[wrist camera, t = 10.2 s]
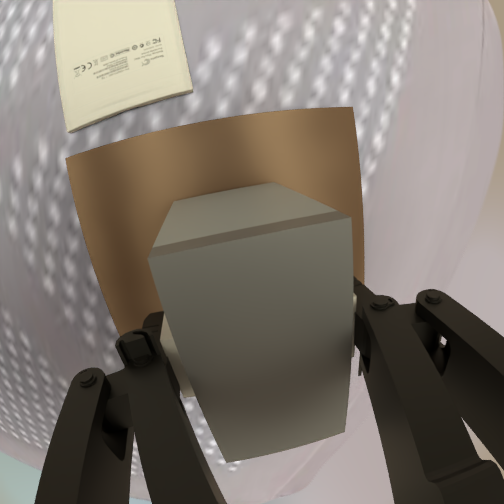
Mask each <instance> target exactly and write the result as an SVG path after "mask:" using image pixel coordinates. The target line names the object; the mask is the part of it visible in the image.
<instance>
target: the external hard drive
mask: <svg viewBox="0 0 504 504" xmlns="http://www.w3.org/2000/svg"><path fill="white" fill-rule="evenodd" d="M53 28H54V44H55V56H56V65H57V74H58V81H59V88H60V95H61V101H62V107H63V113H64V119H65V124H66V129H67V132H68V133H73V132H75V131H77V130H79V129H82V128H84V127H87V126H89V125H92V124H94V123H97V122H99V121H102V120H104V119H107V118H110V117H112V116H115V115H118V114H119V113H121V112H123V111H126V110H129V109H133V108H136V107H141V106H145V105H148V104H151V103H154V102H158V101H161V100H165V99H168V98H172V97H176V96H179V95H183V94H187V93H191V92H193V86H192V81H191V77H190V73H189V68H188V63H187V59H186V54H185V50H184V45H183V40H182V35H181V31H180V26H179V21H178V16H177V11H176V7H175V2H174V0H53Z"/></svg>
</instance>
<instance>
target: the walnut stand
mask: <svg viewBox="0 0 504 504" xmlns="http://www.w3.org/2000/svg"><path fill="white" fill-rule="evenodd" d="M65 159H66V165H67V170H68V175H69V180H70V184H71V189H72V193H73V197H74V202H75V206H76V210H77V214H78V217H79V221H80V225H81V229H82V232H83V236H84V239H85V242H86V246H87V249H88V252H89V255H90V258H91V262H92V265H93V268H94V271H95V273H96V276H97V279H98V282H99V285H100V288H101V290H102V293H103V296H104V298H105V301H106V304H107V306H108V309H109V311H110V314H111V316H112V319H113V321H114V323H115V326H116V328H117V331H118V333H119V335H120V337H121V336H122V335H123V334H125V333H127V332H129V331H131V330H135V329H142V326H143V322H144V320H145V318H146V317H147V316H148V315H149V314H150V313H154V312H160V311H163V307H162V304H161V301H160V298H159V295H158V292H157V289H156V286H155V282H154V279H153V276H152V272H151V269H150V265H149V262H148V256H149V254H150V252H151V249H152V247H153V245H154V243H155V240H156V238H157V236H158V234H159V231H160V229H161V227H162V225H163V223H164V221H165V219H166V216H167V214H168V212H169V210H170V208H171V206H172V204H173V202H174V201H178V200H182V199H187V198H192V197H196V196H201V195H206V194H211V193H216V192H221V191H226V190H232V189H237V188H243V187H248V186H254V185H260V184H265V183H271V182H275V183H277V184H280V185H282V186H284V187H287V188H289V189H291V190H294V191H296V192H298V193H300V194H303V195H305V196H307V197H309V198H311V199H314V200H316V201H318V202H320V203H322V204H324V205H327V206H329V207H331V208H333V209H335V210H337V211H339V212H341V213H343V214H345V215H348V216H350V217H351V221H352V242H353V276H354V277H356V278H357V279H358V280H359V281H360V282H361V283H362V284H364V223H363V202H362V187H361V174H360V163H359V153H358V143H357V135H356V127H355V119H354V112H353V107H331V108H311V109H297V110H285V111H274V112H265V113H257V114H249V115H241V116H234V117H228V118H221V119H215V120H209V121H204V122H198V123H193V124H188V125H183V126H178V127H174V128H169V129H165V130H160V131H156V132H152V133H148V134H144V135H140V136H136V137H132V138H128V139H125V140H121V141H118V142H114V143H111V144H107V145H104V146H101V147H98V148H94V149H91V150H88V151H85V152H82V153H79V154H76V155H73V156H70V157H68V158H65Z"/></svg>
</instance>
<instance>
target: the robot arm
mask: <svg viewBox="0 0 504 504" xmlns="http://www.w3.org/2000/svg"><path fill="white" fill-rule="evenodd" d="M442 336H443V337H444V338H445V339H446V340H447V341H446V345H443V344H442V343H441V342H440V341H441V337H442ZM355 346H356V347H357V348H358V349H359V351H360V359H359V370H358V376H361V372H363V375H364V378H365V382H366V385H367V389H368V393H369V396H370V400H371V403H372V407H373V411H374V414H375V419H376V422H377V426H378V430H379V434H380V438H381V442H382V447H383V451H384V455H385V459H386V464H387V468H388V473H389V478H390V483H391V488H392V493H393V498H394V503H395V504H504V479H503V476H502V474H501V471H500V469H499V468H498V466H497V464H496V463H494V462H493V461H491V460H482V459H480V458H479V456H478V454H477V452H476V450H475V447H474V445H473V443H472V440H471V438H470V436H469V434H468V431H467V429H466V427H465V425H464V422H463V420H464V421H465V422H466V423H467V424H468V426H469V427H470V428H471V429H472V431H473V432H474V433H475V434H476V436H477V437H478V438H479V439H480V440H481V442H482V443H483V444H484V445H485V447H486V448H487V449H488V451H489V452H490V453H491V454H492V456H493V457H494V458H495V459H496V461H497V462H498V463H499V465H500V466H501V467H502V469H503V470H504V337H503V336H501V335H500V334H499V333H498V332H496V331H495V330H494V329H492V328H491V327H490V326H489V325H487V324H486V323H485V322H483V321H482V320H481V319H480V318H478V317H477V316H476V315H474V314H473V313H471V312H470V311H469V310H467V309H466V308H465V307H463V306H462V305H461V304H459V303H458V302H456V301H455V300H454V299H452V298H451V297H449V296H448V295H447V294H445V293H443V292H441V291H439V290H435V289H428V290H423V291H421V292H419V293H418V295H417V297H416V303H411V304H403V305H399V304H398V302H397V301H396V300H395V299H394V298H391V297H389V296H384V295H375V294H374V293H373V292H372V291H370V290H369V289H368V288H367V287H366V286H365V285H364V284H362V283H361V282H360V281H359V280H358V279H357V278H356V277H354V276H353V336H352V357H354V351H355ZM115 347H116V349H117V351H118V353H119V355H120V357H121V359H122V361H123V363H124V365H125V368H124V369H123V370H120V371H118V372H115V373H112V374H110V375H107V376H105V374H104V372H103V371H102V370H101V369H99V368H88V369H85V370H82V371H81V372H79V373H78V374H77V375H76V376H75V377H74V379H73V380H72V382H71V385H70V387H69V390H68V393H67V395H66V398H65V401H64V403H63V406H62V409H61V412H60V415H59V417H58V420H57V423H56V426H55V429H54V432H53V436H52V439H51V442H50V445H49V448H48V452H47V455H46V459H45V462H44V466H43V470H42V474H41V478H40V482H39V486H38V490H37V494H36V499H35V503H34V504H129V493H130V476H131V462H132V451H133V440H134V432H135V437H136V442H137V447H138V451H139V456H140V460H141V464H142V468H143V472H144V476H145V480H146V484H147V488H148V491H149V495H150V498H151V502H152V504H227V503H226V501H225V499H224V497H223V495H222V493H221V491H220V489H219V487H218V485H217V483H216V481H215V478H214V476H213V474H212V472H211V470H210V468H209V466H208V463H207V461H206V459H205V457H204V454H203V452H202V450H201V448H200V445H199V443H198V440H197V438H196V436H195V433H194V431H193V428H192V426H191V423H190V421H189V418H188V416H187V413H186V411H185V408H184V405H183V403H182V401H181V399H180V390H181V392H182V394H183V397H184V398H186V397H193V396H195V393H194V391H193V389H192V386H191V384H190V381H189V379H188V376H187V374H186V371H185V369H184V366H183V364H182V361H181V358H180V356H179V353H178V350H177V348H176V345H175V342H174V339H173V337H172V334H171V331H170V328H169V325H168V322H167V319H166V316H165V314H164V311H160V312H154V313H150V314H149V315H148V316H147V317H146V318H145V320H144V322H143V326H142V329H135V330H131V331H129V332H127V333H125V334H123V335H122V336H121V337H120V338H119V339H118V340H117V341H116V345H115ZM461 417H462V418H463V420H462V418H461Z"/></svg>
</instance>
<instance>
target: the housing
mask: <svg viewBox="0 0 504 504" xmlns="http://www.w3.org/2000/svg"><path fill="white" fill-rule="evenodd" d="M148 262H149V265H150V269H151V272H152V276H153V279H154V282H155V286H156V289H157V292H158V295H159V298H160V301H161V304H162V307H163V311H164V314H165V316H166V319H167V322H168V325H169V328H170V331H171V334H172V337H173V339H174V342H175V345H176V348H177V350H178V353H179V356H180V358H181V361H182V364H183V366H184V369H185V371H186V374H187V376H188V379H189V381H190V384H191V386H192V389H193V391H194V393H195V396H196V398H197V400H198V403H199V405H200V407H201V410H202V412H203V414H204V417H205V419H206V421H207V423H208V425H209V428H210V430H211V432H212V434H213V436H214V438H215V440H216V443H217V445H218V447H219V449H220V451H221V453H222V455H223V457H224V459H225V461H226V463H228V462H234V461H240V460H245V459H250V458H255V457H259V456H264V455H268V454H273V453H277V452H281V451H285V450H289V449H292V448H296V447H299V446H303V445H306V444H310V443H313V442H316V441H319V440H322V439H326V438H329V437H332V436H334V435H337V434H340V433H343V432H345V425H346V417H347V407H348V397H349V386H350V373H351V357H352V336H353V242H352V221H351V217H350V216H348V215H345V214H343V213H341V212H339V211H337V210H335V209H333V208H331V207H329V206H327V205H324V204H322V203H320V202H318V201H316V200H314V199H311V198H309V197H307V196H305V195H303V194H300V193H298V192H296V191H294V190H291V189H289V188H287V187H284V186H282V185H280V184H277V183H275V182H271V183H265V184H260V185H254V186H248V187H243V188H237V189H232V190H226V191H221V192H216V193H211V194H206V195H201V196H196V197H192V198H187V199H182V200H178V201H174V202H173V204H172V206H171V208H170V210H169V212H168V214H167V216H166V219H165V221H164V223H163V225H162V227H161V229H160V231H159V234H158V236H157V238H156V240H155V243H154V245H153V247H152V249H151V252H150V254H149V256H148Z"/></svg>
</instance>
